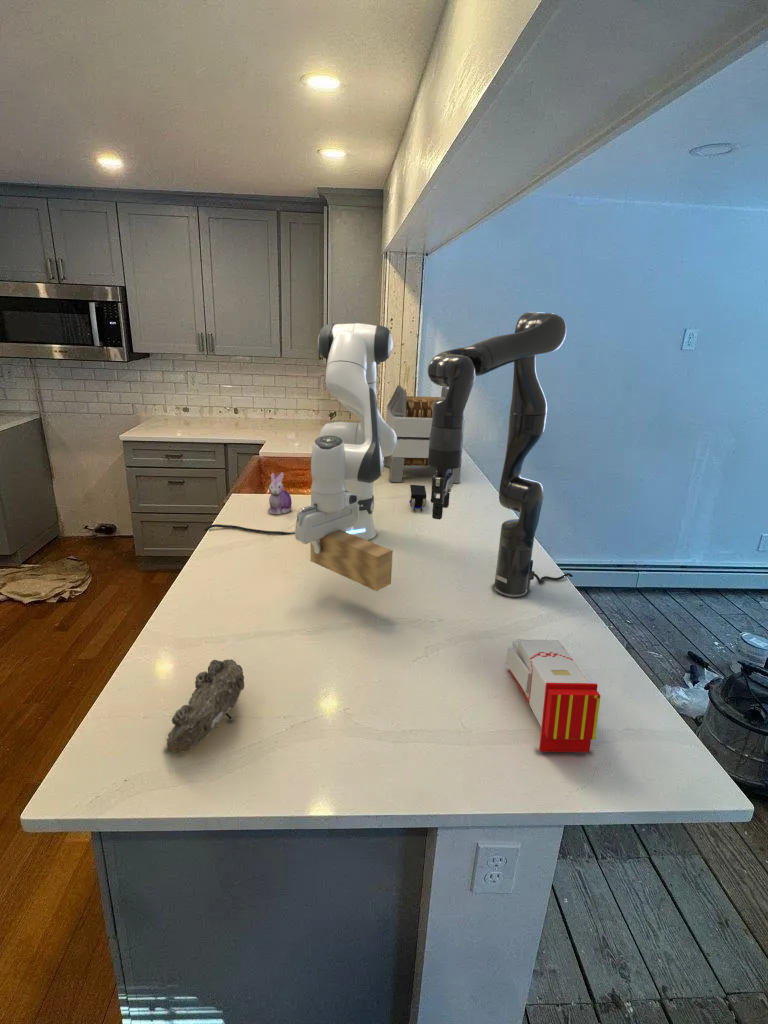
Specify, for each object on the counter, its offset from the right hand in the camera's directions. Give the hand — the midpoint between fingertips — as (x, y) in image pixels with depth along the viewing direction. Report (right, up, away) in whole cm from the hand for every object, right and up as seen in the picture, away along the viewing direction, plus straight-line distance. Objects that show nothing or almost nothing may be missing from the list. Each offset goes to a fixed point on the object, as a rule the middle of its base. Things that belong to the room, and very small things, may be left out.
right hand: (440, 512), depth 134 cm
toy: (+19, -39, -18) cm, 47 cm away
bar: (-22, -16, +14) cm, 31 cm away
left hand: (-28, -10, +18) cm, 35 cm away
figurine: (-53, 0, +83) cm, 98 cm away
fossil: (-46, -39, -25) cm, 65 cm away
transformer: (+4, +19, +141) cm, 143 cm away
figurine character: (0, +2, +94) cm, 94 cm away
